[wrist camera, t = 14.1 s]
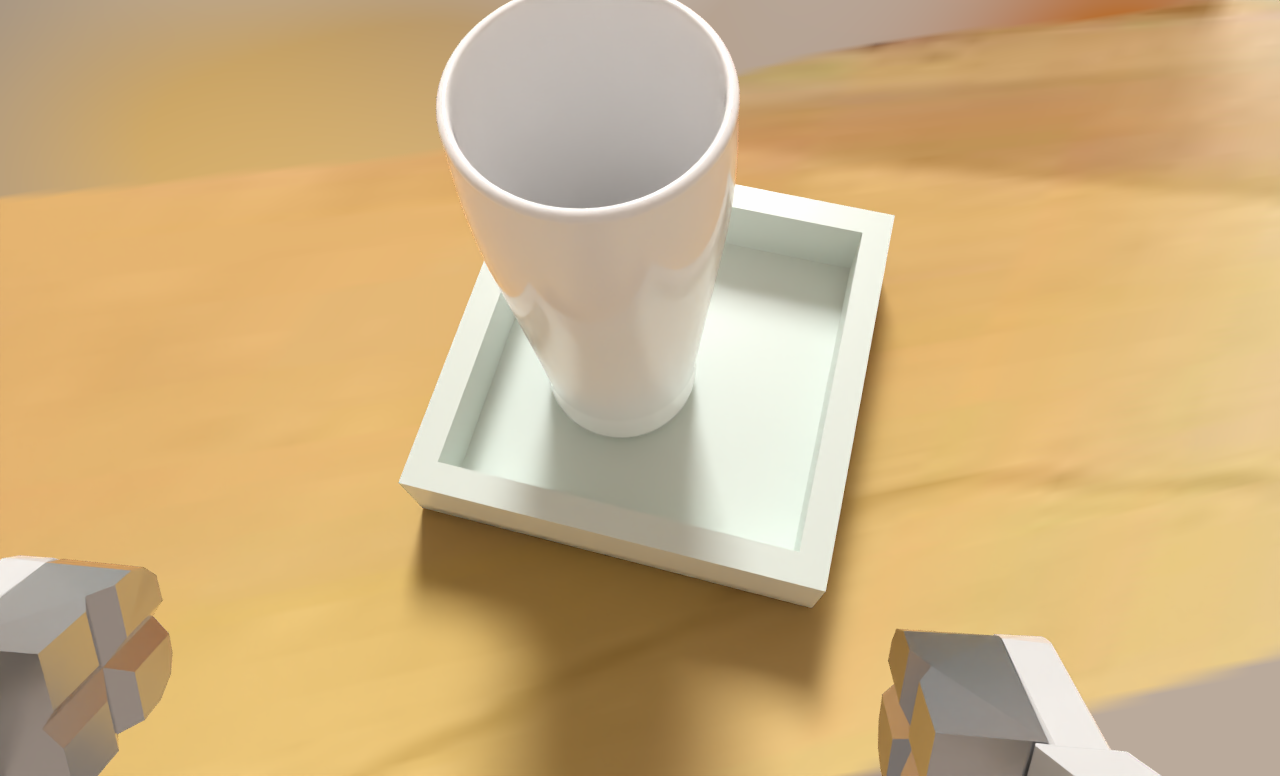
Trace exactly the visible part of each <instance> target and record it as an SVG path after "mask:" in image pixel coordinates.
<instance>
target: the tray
mask: <svg viewBox="0 0 1280 776" xmlns="http://www.w3.org/2000/svg"><path fill="white" fill-rule="evenodd" d="M894 216H895V215H890V214H884V213H879V212H874V211H869V210H864V209H859V208H854V207H849V206H843V205H838V204H833V203H828V202H823V201H818V200H813V199H808V198H802V197H797V196H792V195H787V194H782V193H777V192H772V191H767V190H762V189H756V188H751V187H746V186H741V185H736V184H735V192H734V200H733V207H732V213H731V220H730V225H729V230H728V234H727V239H726V243H725V247H724V251H723V255H722V259H721V263H720V267H719V271H718V275H717V279H716V283H715V286H714V290H713V294H712V298H711V302H710V306H709V310H708V314H707V318H706V322H705V326H704V330H703V334H702V338H701V342H700V347H699V351H698V355H697V365H696V375H695V381H694V385H693V389H692V391H691V394H690V396H689V398H688V400H687V402H686V403H685V405H684V406H683V408H682V409H681V410H680V412H679V413H678V414H677V415H676V416H675V417H674V418H673V419H672V420H670V421H669V422H668V423H666V424H665V425H664V426H662V427H660V428H659V429H657V430H655V431H652V432H650V433H647V434H645V435H641V436H637V437H630V438H612V437H606V436H601V435H598V434H595V433H592V432H590V431H588V430H586V429H584V428H582V427H581V426H579V425H578V424H576V423H575V422H574V421H573V420H571V419H570V418H569V417H568V416H567V415H566V414H565V412H564V411H563V410H562V409H561V407H560V406H559V404H558V402H557V401H556V399H555V397H554V395H553V392H552V389H551V386H550V383H549V380H548V377H547V375H546V373H545V372H544V370H543V368H542V366H541V364H540V362H539V360H538V358H537V357H536V355H535V353H534V351H533V349H532V347H531V345H530V344H529V342H528V340H527V338H526V336H525V335H524V333H523V331H522V329H521V327H520V325H519V324H518V322H517V320H516V318H515V316H514V315H513V313H512V311H511V309H510V308H509V306H508V304H507V302H506V300H505V299H504V297H503V295H502V293H501V291H500V290H499V288H498V286H497V284H496V282H495V281H494V279H493V277H492V275H491V273H490V271H489V269H488V267H487V265H486V263H485V261H484V263H483V265H482V268H481V270H480V273H479V276H478V278H477V281H476V283H475V286H474V288H473V291H472V294H471V296H470V299H469V301H468V304H467V307H466V309H465V312H464V314H463V317H462V320H461V322H460V325H459V327H458V330H457V333H456V335H455V338H454V340H453V343H452V346H451V348H450V351H449V353H448V356H447V359H446V361H445V364H444V366H443V369H442V371H441V374H440V377H439V379H438V382H437V384H436V387H435V390H434V392H433V395H432V397H431V400H430V403H429V405H428V408H427V410H426V413H425V416H424V418H423V421H422V423H421V426H420V429H419V431H418V434H417V436H416V439H415V441H414V444H413V447H412V449H411V452H410V454H409V457H408V460H407V462H406V465H405V467H404V470H403V473H402V475H401V478H400V480H399V484H400V485H401V486H402V487H403V488H404V489H405V490H406V491H407V492H408V493H409V494H410V495H411V496H412V497H413V498H414V499H415V500H416V501H417V503H418V504H419V505H420V506H421V507H422V508H425V509H429V510H433V511H437V512H441V513H444V514H448V515H452V516H456V517H460V518H464V519H468V520H472V521H476V522H479V523H483V524H487V525H491V526H495V527H499V528H503V529H507V530H510V531H514V532H518V533H522V534H526V535H530V536H534V537H538V538H541V539H545V540H549V541H553V542H557V543H561V544H565V545H569V546H572V547H576V548H580V549H584V550H588V551H592V552H596V553H600V554H604V555H607V556H611V557H615V558H619V559H623V560H627V561H631V562H635V563H638V564H642V565H646V566H650V567H654V568H658V569H662V570H666V571H669V572H673V573H677V574H681V575H685V576H689V577H693V578H697V579H701V580H704V581H708V582H712V583H716V584H720V585H724V586H728V587H732V588H735V589H739V590H743V591H747V592H751V593H755V594H759V595H763V596H766V597H770V598H774V599H778V600H782V601H786V602H790V603H794V604H797V605H801V606H805V607H809V608H812V607H813V606H814V605H815V604H816V603H817V601H818V600H819V599H820V598H821V597H822V595H823V594H824V593H825V592H826V587H827V582H828V576H829V571H830V565H831V560H832V554H833V549H834V543H835V538H836V532H837V527H838V521H839V516H840V511H841V505H842V500H843V494H844V489H845V483H846V478H847V472H848V467H849V461H850V456H851V450H852V445H853V440H854V434H855V429H856V423H857V418H858V412H859V407H860V401H861V396H862V390H863V385H864V379H865V374H866V369H867V363H868V358H869V352H870V347H871V341H872V336H873V330H874V325H875V319H876V314H877V308H878V303H879V298H880V292H881V287H882V281H883V276H884V270H885V265H886V259H887V254H888V248H889V243H890V237H891V232H892V226H893V221H894Z"/></svg>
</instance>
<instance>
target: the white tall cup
mask: <svg viewBox="0 0 1280 776" xmlns="http://www.w3.org/2000/svg"><path fill="white" fill-rule="evenodd" d="M739 106H740V90H739V82H738V76H737V72H736V68H735V65H734V63H733V60H732V58H731V55H730V53H729V52H728V50H727V48H726V46H725V44H724V43H723V41H722V40H721V39H720V37H719V36H718V34H717V33H716V32H715V31H714V30H713V28H712V27H711V26H710V25H709V24H708V23H707V22H706V21H705V20H704V19H703V18H702V17H700V16H699V15H698V14H696V13H695V12H694V11H693V10H691V9H690V8H688V7H687V6H685V5H683V4H682V3H680V2H678V1H676V0H512V1H510V2H509V3H507V4H505V5H503V6H501V7H500V8H498V9H497V10H495V11H494V12H492V13H491V14H489V15H488V16H486V17H485V18H484V19H483V20H481V21H480V22H479V23H478V24H477V25H476V26H475V27H474V28H473V29H472V30H470V31H469V32H468V34H467V35H466V36H465V37H464V38H463V39H462V41H461V42H460V43H459V45H458V46H457V47H456V49H455V50H454V52H453V53H452V55H451V57H450V59H449V60H448V62H447V64H446V67H445V69H444V71H443V73H442V77H441V80H440V83H439V87H438V93H437V100H436V117H437V125H438V130H439V135H440V138H441V141H442V144H443V148H444V151H445V155H446V159H447V162H448V166H449V169H450V173H451V176H452V179H453V183H454V186H455V189H456V192H457V195H458V198H459V201H460V204H461V207H462V209H463V212H464V215H465V218H466V220H467V223H468V225H469V228H470V230H471V233H472V235H473V237H474V240H475V242H476V244H477V246H478V249H479V251H480V253H481V255H482V257H483V259H484V261H485V263H486V265H487V267H488V269H489V271H490V273H491V275H492V277H493V279H494V281H495V282H496V284H497V286H498V288H499V290H500V291H501V293H502V295H503V297H504V299H505V300H506V302H507V304H508V306H509V308H510V309H511V311H512V313H513V315H514V316H515V318H516V320H517V322H518V324H519V325H520V327H521V329H522V331H523V333H524V335H525V336H526V338H527V340H528V342H529V344H530V345H531V347H532V349H533V351H534V353H535V355H536V357H537V358H538V360H539V362H540V364H541V366H542V368H543V370H544V372H545V373H546V375H547V377H548V380H549V383H550V386H551V389H552V392H553V395H554V397H555V399H556V401H557V402H558V404H559V406H560V407H561V409H562V410H563V411H564V412H565V414H566V415H567V416H568V417H569V418H570V419H571V420H573V421H574V422H575V423H576V424H578V425H579V426H581V427H582V428H584V429H586V430H588V431H590V432H592V433H595V434H598V435H601V436H606V437H612V438H630V437H637V436H641V435H645V434H647V433H650V432H652V431H655V430H657V429H659V428H660V427H662V426H664V425H665V424H666V423H668V422H669V421H670V420H672V419H673V418H674V417H675V416H676V415H677V414H678V413H679V412H680V410H681V409H682V408H683V406H684V405H685V403H686V402H687V400H688V398H689V396H690V394H691V391H692V389H693V385H694V381H695V375H696V365H697V355H698V351H699V347H700V342H701V338H702V334H703V330H704V326H705V322H706V318H707V314H708V310H709V306H710V302H711V298H712V294H713V290H714V286H715V283H716V279H717V275H718V271H719V267H720V263H721V259H722V255H723V251H724V247H725V243H726V239H727V234H728V230H729V225H730V220H731V213H732V207H733V200H734V192H735V184H736V174H737V161H738V142H739Z"/></svg>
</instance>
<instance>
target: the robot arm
mask: <svg viewBox="0 0 1280 776" xmlns="http://www.w3.org/2000/svg"><path fill="white" fill-rule="evenodd" d="M162 601H163V600H162V596H161V592H160V588H159V584H158V580H157V576H156V575H155V574H154V573H152V572H151V571H149V570H148V569H146V568H144V567H136V566H127V565H117V564H107V563H98V562H88V561H78V560H68V559H55V558H46V557H34V556H21V555H20V556H14V557H7V558H3V559H1V560H0V776H98V775H99V773H100V772H101V771H102V770H103V769H104V768H105V766H106V765H107V764H108V763H109V762H110V760H111V759H112V758H113V757H114V756H115V755H116V753H117V752H118V751H119V747H118V734H119V733H121V732H123V731H124V730H126V729H128V728H130V727H132V726H134V725H136V724H138V723H140V722H141V721H143V720H145V719H146V718H147V716H148V715H149V714H150V713H151V711H152V710H153V709H154V708H155V706H156V705H157V704H158V703H159V701H160V700H161V698H162V695H163V693H164V690H165V688H166V685H167V683H168V680H169V677H170V675H171V666H172V647H171V641H170V636H169V633H168V632H167V631H166V630H165V629H164V628H163V627H162V626H161V625H160V623H159V622H158V621H157V620H156V619H155V618H154V617H153V615H154V613H155V611H156V610H157V608H158V607H159V605H160V604H161V602H162ZM888 662H889V666H890V670H891V674H892V677H893V681H894V685H893V686H891V687H890V688H889V689H888V690H887V691H886V692H885V693H884V694H882V700H881V707H880V714H879V726H878V751H879V761H880V769H881V774H882V776H1161V775H1159V774H1158V773H1157V772H1155V771H1154V770H1152V769H1151V768H1149V767H1148V766H1147V765H1145V764H1144V763H1142V762H1141V761H1139V760H1138V759H1137V758H1135V757H1134V756H1132V755H1131V754H1129V753H1128V752H1125V751H1115V750H1111V749H1110V747H1109V745H1108V744H1107V742H1106V740H1105V738H1104V737H1103V735H1102V733H1101V731H1100V729H1099V728H1098V726H1097V724H1096V722H1095V720H1094V719H1093V717H1092V715H1091V713H1090V711H1089V710H1088V708H1087V706H1086V704H1085V702H1084V701H1083V699H1082V697H1081V695H1080V693H1079V692H1078V690H1077V688H1076V686H1075V685H1074V683H1073V681H1072V679H1071V677H1070V676H1069V674H1068V672H1067V670H1066V668H1065V667H1064V665H1063V663H1062V661H1061V659H1060V658H1059V656H1058V654H1057V652H1056V651H1055V649H1054V647H1053V645H1052V643H1051V642H1050V641H1048V640H1047V639H1045V638H1044V637H1040V636H1020V635H1000V634H994V635H979V634H964V633H950V632H936V631H922V630H908V629H896V631H895V634H894V636H893V639H892V642H891V648H890V653H889V659H888Z"/></svg>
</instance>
